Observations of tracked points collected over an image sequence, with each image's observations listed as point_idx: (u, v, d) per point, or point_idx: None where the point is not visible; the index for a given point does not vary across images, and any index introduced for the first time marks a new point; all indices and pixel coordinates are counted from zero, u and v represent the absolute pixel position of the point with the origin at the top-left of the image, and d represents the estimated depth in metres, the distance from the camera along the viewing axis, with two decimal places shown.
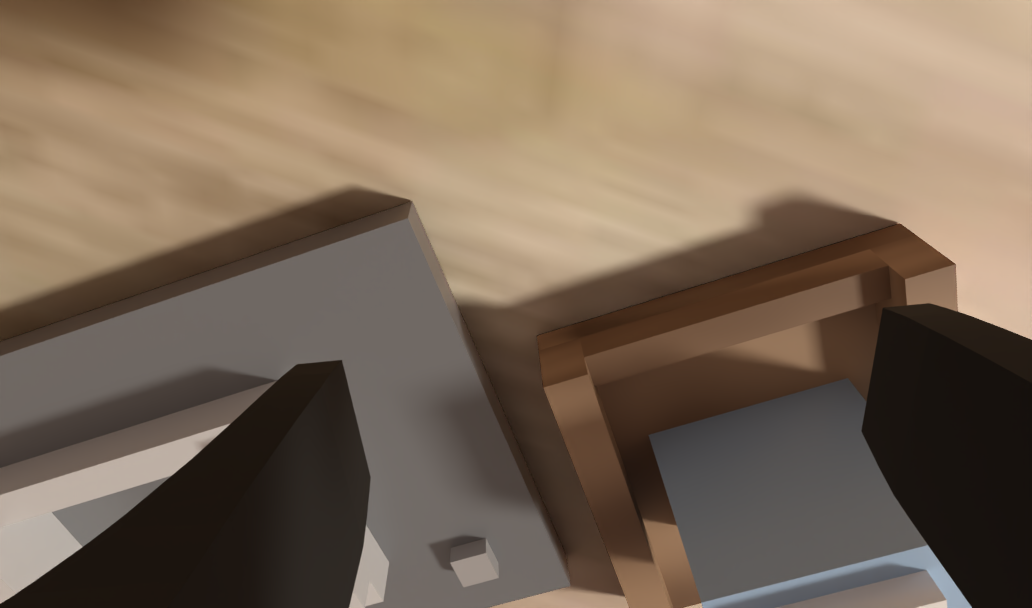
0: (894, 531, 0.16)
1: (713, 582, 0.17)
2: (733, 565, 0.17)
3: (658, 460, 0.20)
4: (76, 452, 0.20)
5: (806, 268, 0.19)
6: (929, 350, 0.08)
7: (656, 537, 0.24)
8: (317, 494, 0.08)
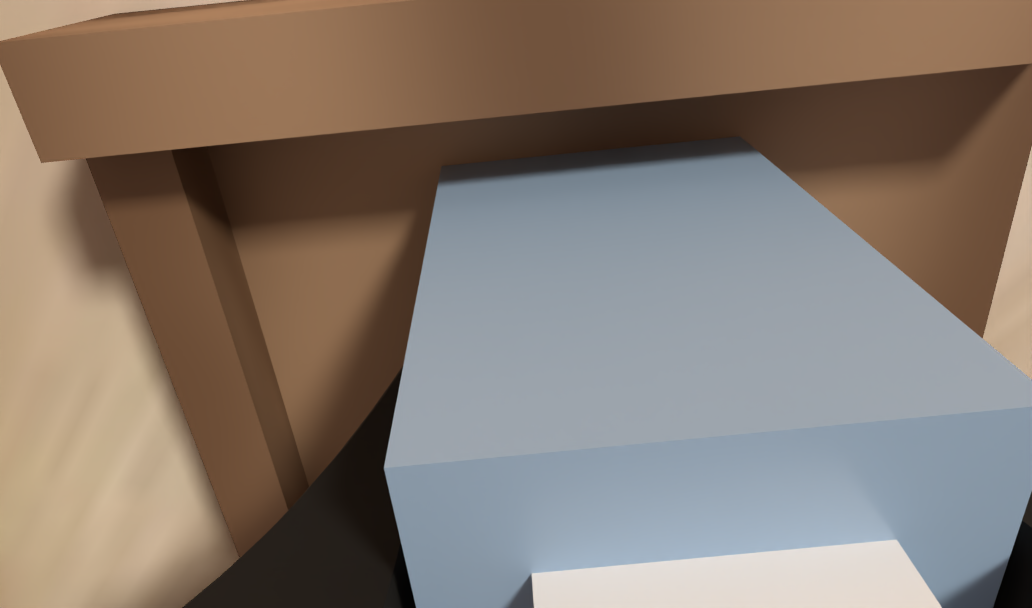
0: None
1: None
2: None
3: None
4: None
5: None
6: None
7: None
8: None
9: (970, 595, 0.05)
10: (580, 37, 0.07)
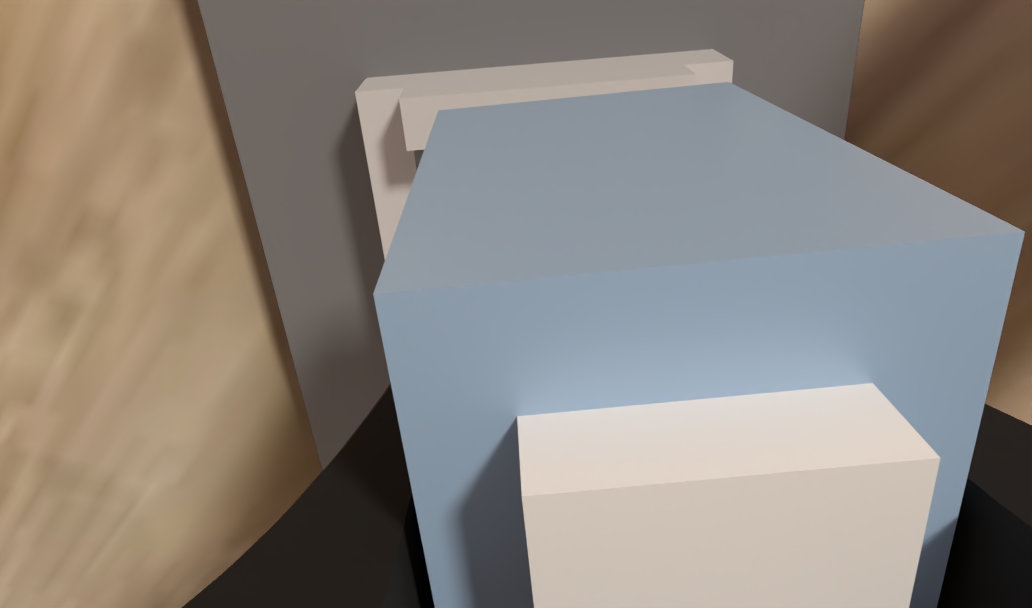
0: None
1: None
2: None
3: None
4: None
5: None
6: None
7: None
8: None
9: (950, 448, 0.05)
10: None
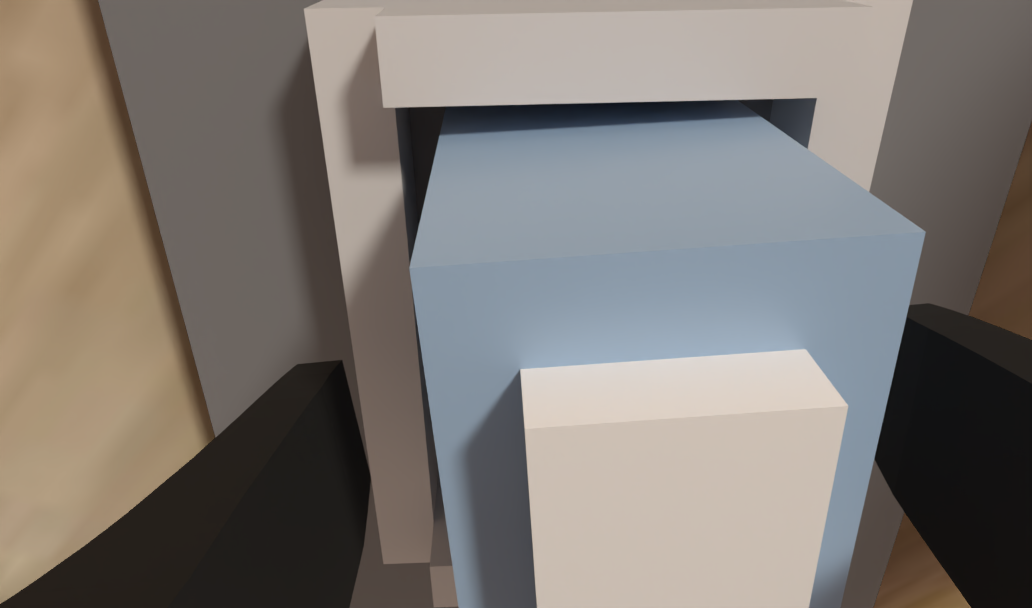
0: None
1: None
2: None
3: None
4: None
5: None
6: (928, 350, 0.08)
7: None
8: (317, 494, 0.08)
9: (865, 402, 0.06)
10: None
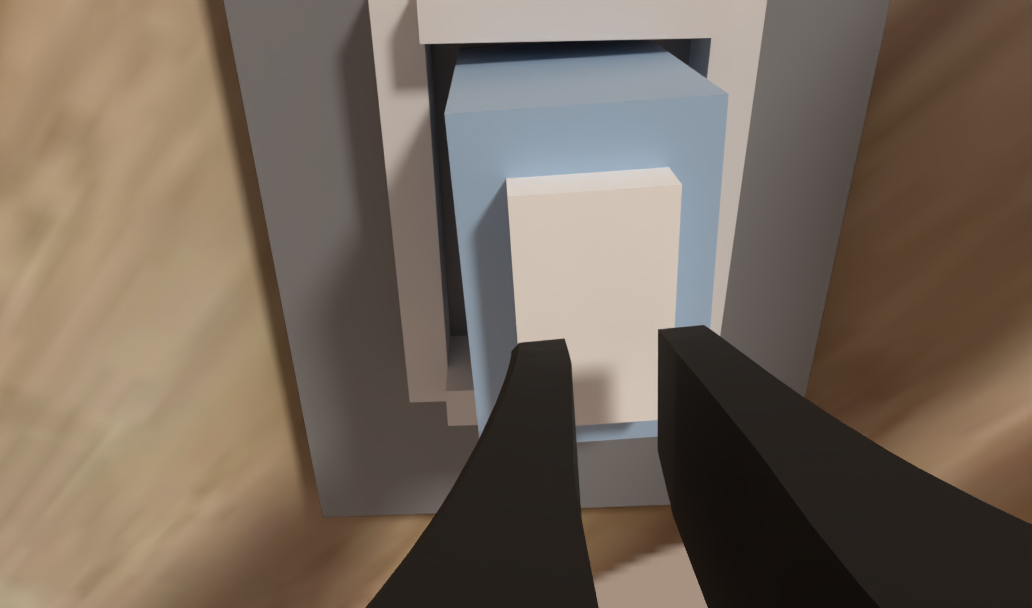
0: None
1: None
2: None
3: None
4: None
5: None
6: (678, 374, 0.08)
7: None
8: None
9: (707, 203, 0.11)
10: None
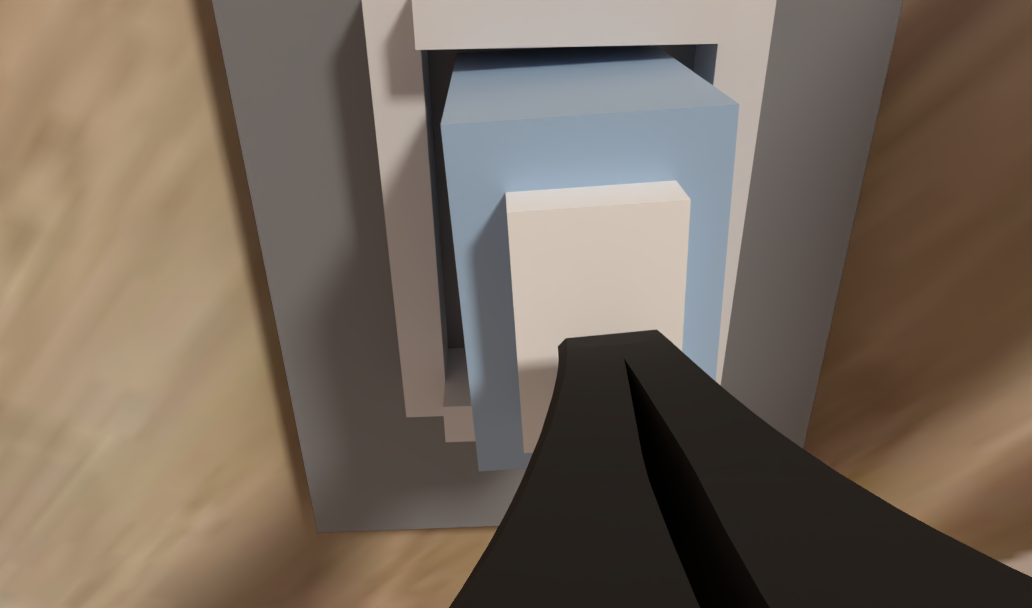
0: None
1: None
2: None
3: None
4: None
5: None
6: None
7: None
8: None
9: (716, 217, 0.10)
10: None
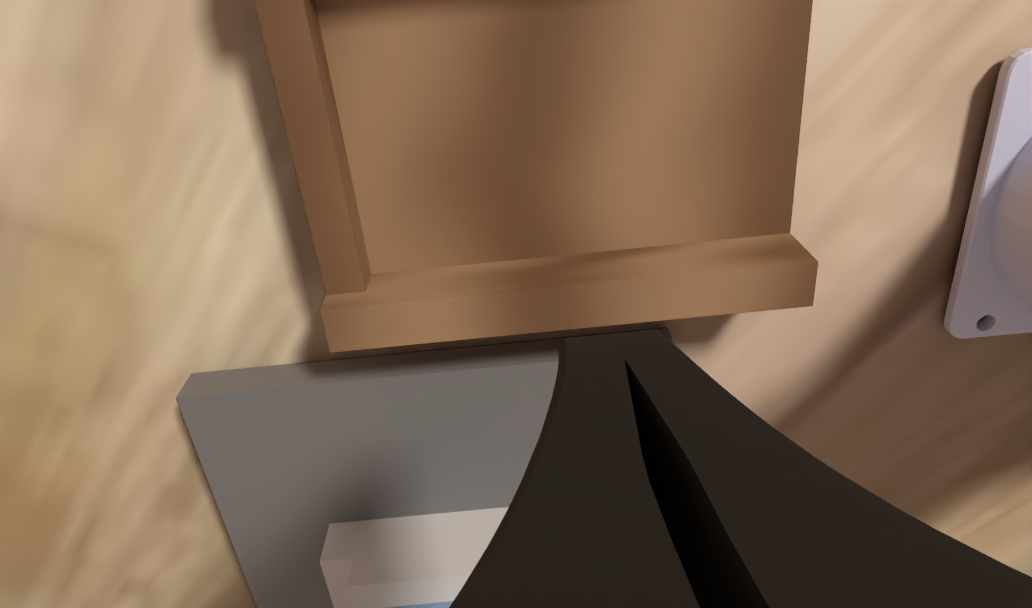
0: None
1: None
2: None
3: None
4: None
5: None
6: None
7: (647, 238, 0.18)
8: None
9: None
10: None
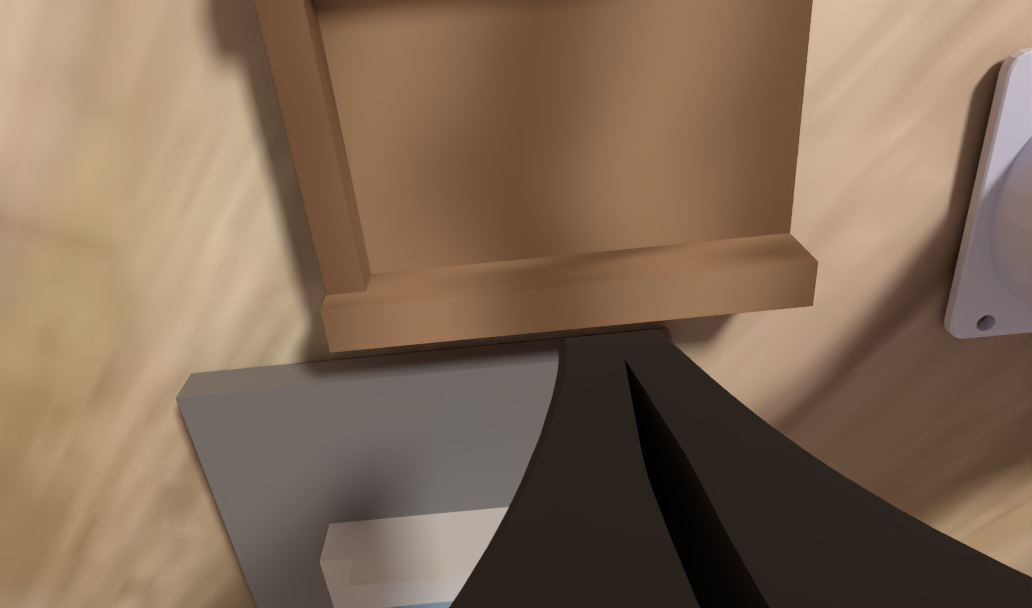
0: None
1: None
2: None
3: None
4: None
5: None
6: None
7: (647, 238, 0.18)
8: None
9: None
10: None
